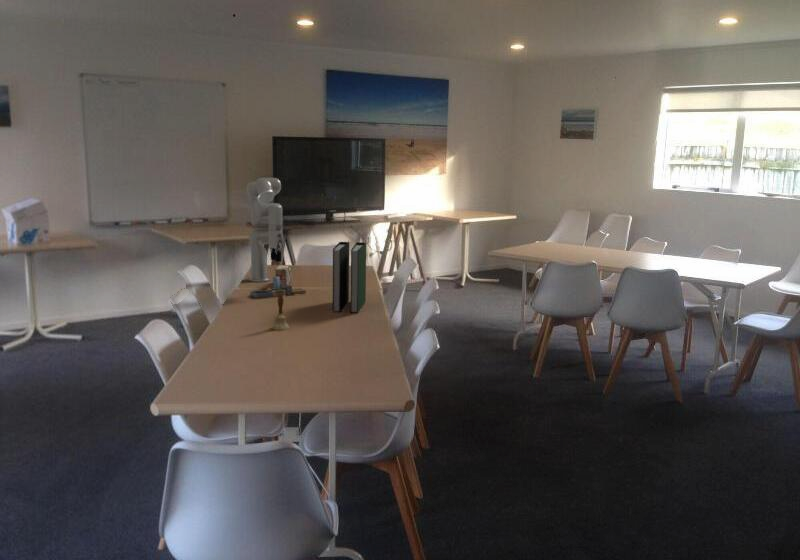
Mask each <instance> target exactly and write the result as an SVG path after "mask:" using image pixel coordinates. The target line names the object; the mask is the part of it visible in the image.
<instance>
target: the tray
mask: <svg viewBox="0 0 800 560" xmlns="http://www.w3.org/2000/svg"><path fill="white" fill-rule="evenodd" d="M249 292H250V293H249V294H250V297H252V298H254V299H256V300H260V299H259V298H261V299H267V298H268V297H270V298H273V297H272V293H271V292H269V291H267V289H260V290H252V291H249ZM268 299H269V298H268Z"/></svg>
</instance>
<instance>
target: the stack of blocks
mask: <svg viewBox="0 0 800 560" xmlns="http://www.w3.org/2000/svg"><path fill="white" fill-rule="evenodd" d="M275 277H279V288H281V284H288V285H290V286H291V284H292V268H291V267H290V265H289V264H288V265H282V264H281V265H278V266H277V267H276V268H275Z"/></svg>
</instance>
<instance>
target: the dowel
mask: <svg viewBox="0 0 800 560" xmlns="http://www.w3.org/2000/svg"><path fill="white" fill-rule="evenodd" d="M272 288H273V290H274V291H277V290H279V277H276V276H273V278H272Z"/></svg>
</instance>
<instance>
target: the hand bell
mask: <svg viewBox="0 0 800 560" xmlns="http://www.w3.org/2000/svg"><path fill="white" fill-rule="evenodd" d="M277 305H278V315H276V316H275V318H274V323H273V324H272V326H271V330H274V331H286V329H287V330H289V329H291V327H290V325H289V324H288V323H287V320H286V319H287V317H286V316H285V315H283V313H284V312H283V306H284V296H282V294H279V296H278V297H277Z"/></svg>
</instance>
